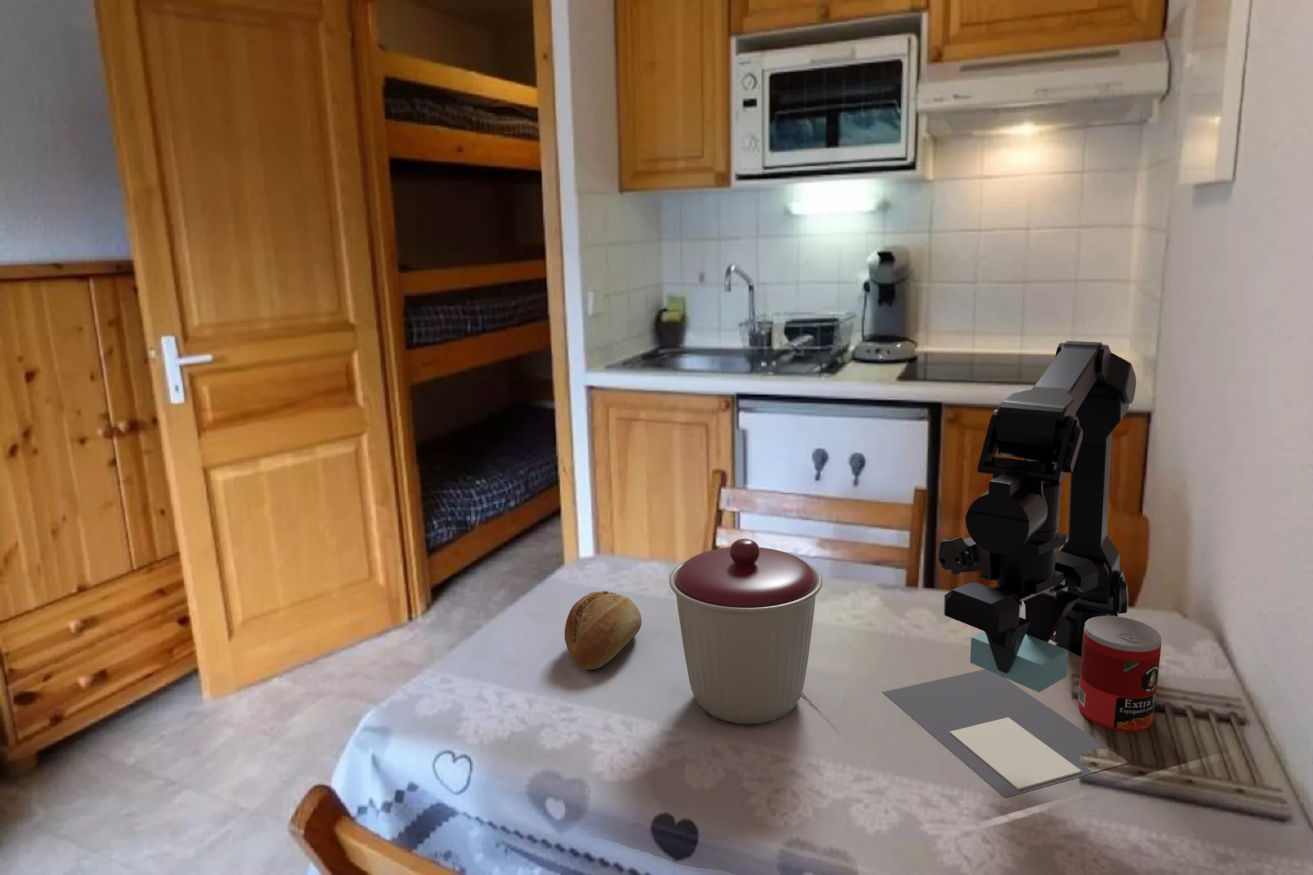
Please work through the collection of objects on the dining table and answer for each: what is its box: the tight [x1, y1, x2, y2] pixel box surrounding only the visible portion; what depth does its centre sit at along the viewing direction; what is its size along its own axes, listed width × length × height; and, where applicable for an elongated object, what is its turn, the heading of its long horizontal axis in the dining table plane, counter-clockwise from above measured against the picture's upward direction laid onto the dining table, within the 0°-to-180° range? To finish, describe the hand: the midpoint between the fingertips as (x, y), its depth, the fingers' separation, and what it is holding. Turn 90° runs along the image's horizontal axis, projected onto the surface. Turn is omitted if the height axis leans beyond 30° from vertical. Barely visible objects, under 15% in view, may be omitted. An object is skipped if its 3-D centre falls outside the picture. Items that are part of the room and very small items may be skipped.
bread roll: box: [564, 590, 643, 671], centre depth 120 cm, size 10×15×8 cm, turn 162°
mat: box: [882, 669, 1123, 799], centre depth 99 cm, size 16×22×1 cm
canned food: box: [1077, 616, 1162, 733], centre depth 99 cm, size 8×8×11 cm
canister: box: [668, 538, 823, 725], centre depth 104 cm, size 18×18×21 cm
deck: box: [969, 631, 1070, 693], centre depth 91 cm, size 8×5×3 cm, turn 35°
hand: (1018, 663), depth 91 cm, fingers closed on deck, 5 cm apart
